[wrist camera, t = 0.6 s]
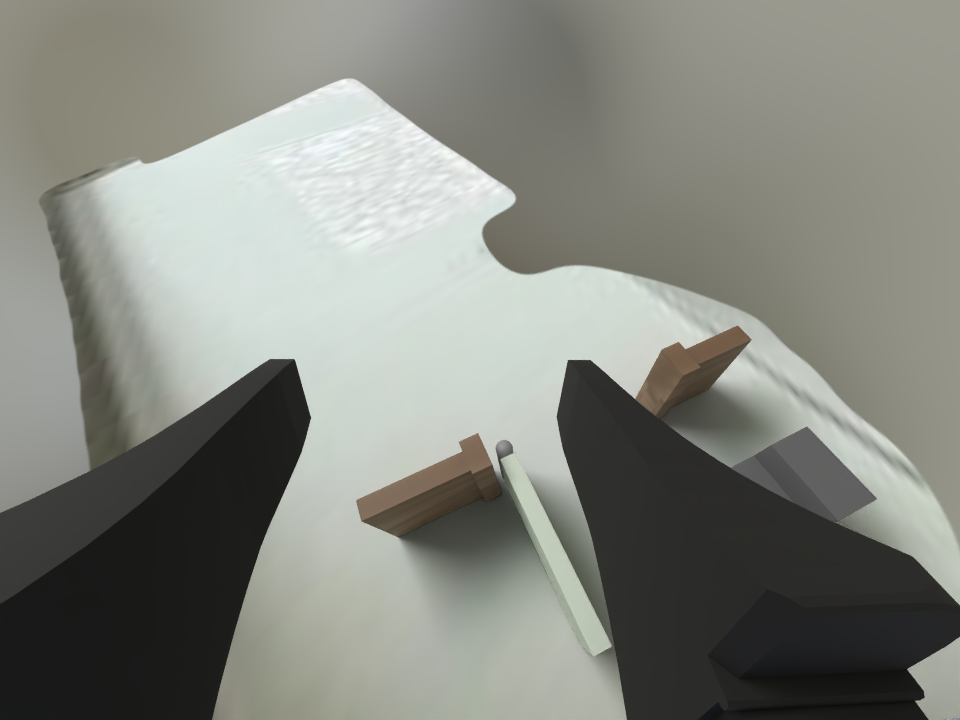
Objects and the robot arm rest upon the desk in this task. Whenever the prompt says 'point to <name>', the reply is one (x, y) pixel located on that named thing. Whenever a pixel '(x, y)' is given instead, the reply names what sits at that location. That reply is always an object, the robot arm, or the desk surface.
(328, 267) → the desk surface
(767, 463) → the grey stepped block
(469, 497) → the door frame
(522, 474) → the door
